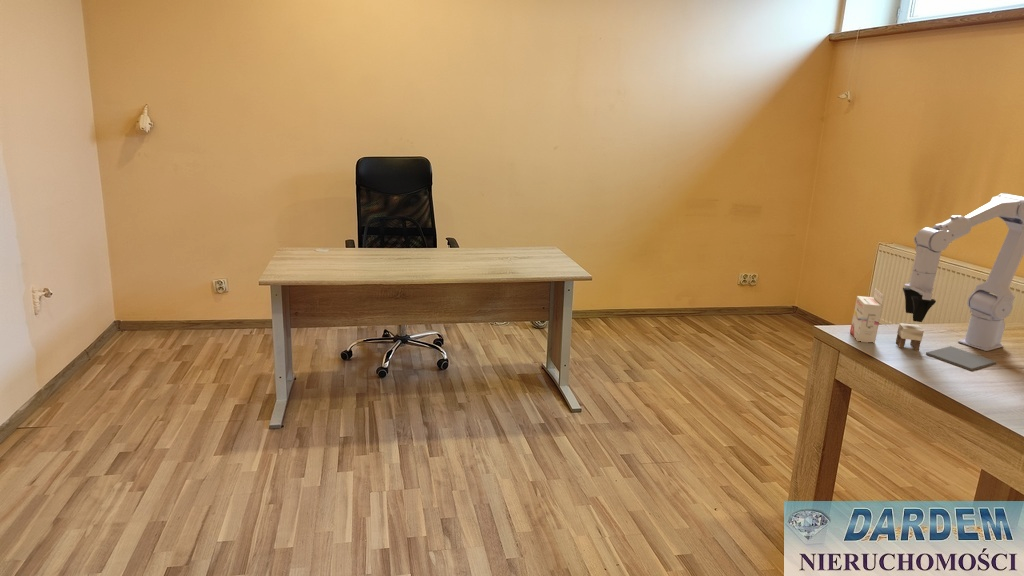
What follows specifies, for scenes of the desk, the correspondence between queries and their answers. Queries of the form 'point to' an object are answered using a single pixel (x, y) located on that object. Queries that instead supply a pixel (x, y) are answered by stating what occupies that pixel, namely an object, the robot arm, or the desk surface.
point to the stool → (909, 335)
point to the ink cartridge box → (867, 317)
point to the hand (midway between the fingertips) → (913, 317)
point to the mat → (961, 358)
